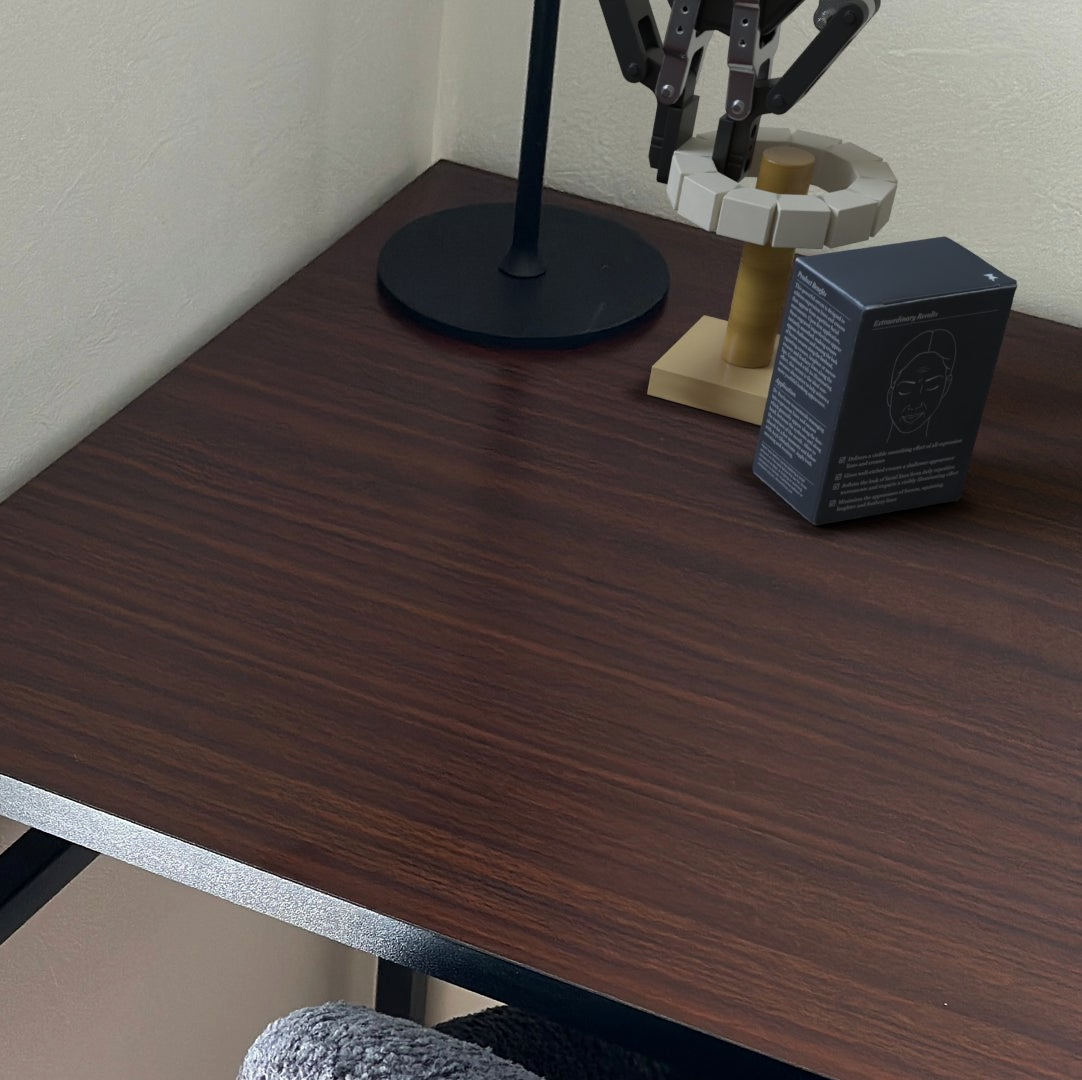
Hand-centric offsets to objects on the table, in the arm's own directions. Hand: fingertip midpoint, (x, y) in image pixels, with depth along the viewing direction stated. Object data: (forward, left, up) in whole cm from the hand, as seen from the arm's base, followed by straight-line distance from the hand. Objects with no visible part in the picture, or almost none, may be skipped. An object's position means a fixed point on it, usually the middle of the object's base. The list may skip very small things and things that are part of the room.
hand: (694, 183), depth 112 cm
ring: (-4, 0, 0) cm, 4 cm away
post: (-4, 0, -9) cm, 10 cm away
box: (-12, +7, -9) cm, 17 cm away
